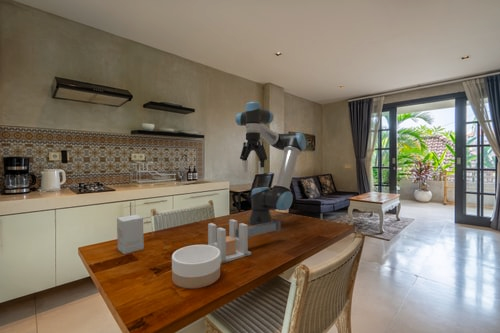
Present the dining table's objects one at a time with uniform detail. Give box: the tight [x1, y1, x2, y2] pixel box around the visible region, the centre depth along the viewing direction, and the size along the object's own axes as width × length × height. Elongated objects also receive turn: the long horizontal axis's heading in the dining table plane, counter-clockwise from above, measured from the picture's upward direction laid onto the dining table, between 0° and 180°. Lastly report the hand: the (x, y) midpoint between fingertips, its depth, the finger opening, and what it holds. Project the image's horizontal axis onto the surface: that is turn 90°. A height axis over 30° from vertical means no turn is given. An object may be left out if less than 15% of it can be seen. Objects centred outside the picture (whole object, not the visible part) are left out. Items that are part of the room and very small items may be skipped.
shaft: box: [236, 219, 282, 238], centre depth 115 cm, size 24×5×5 cm, turn 126°
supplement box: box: [116, 214, 145, 255], centre depth 110 cm, size 9×9×15 cm
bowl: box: [171, 244, 221, 289], centre depth 86 cm, size 17×17×8 cm
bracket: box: [207, 218, 252, 265], centre depth 104 cm, size 17×12×14 cm
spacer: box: [226, 235, 236, 256], centre depth 104 cm, size 6×6×5 cm
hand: (252, 173), depth 124 cm, fingers open, 13 cm apart
